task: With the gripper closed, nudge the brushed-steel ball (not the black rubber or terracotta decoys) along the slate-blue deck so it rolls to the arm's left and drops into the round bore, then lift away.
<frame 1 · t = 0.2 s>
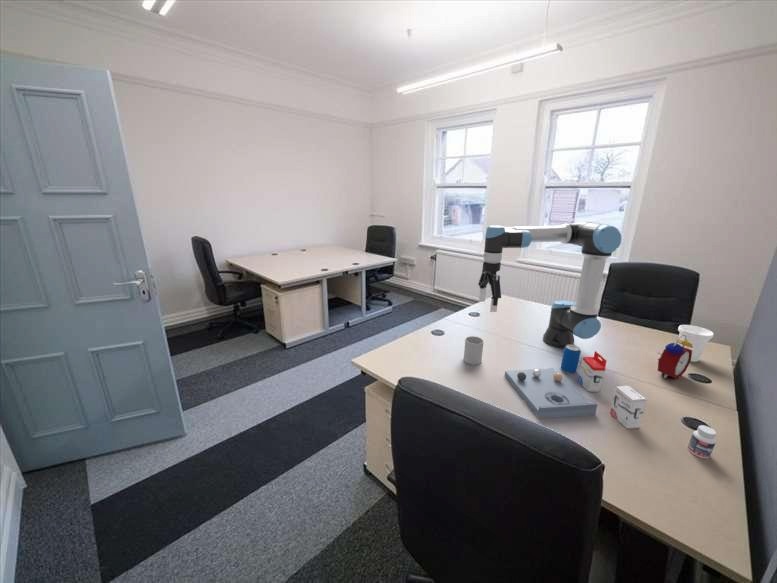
hand: (487, 306, 148), 28 cm above the table, fingers open, 13 cm apart
deck: (545, 393, 131), on the table
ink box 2: (588, 386, 136), on the table
rubber ball: (521, 376, 135), point 4 cm above the table, touching deck
alarm clock: (666, 374, 145), on the table
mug: (472, 359, 157), on the table
cup: (686, 358, 159), on the table
steel ball: (536, 373, 137), point 4 cm above the table, touching deck
beverage can: (568, 371, 147), on the table
terracotta ball: (558, 377, 135), point 4 cm above the table, touching deck
ink box: (623, 420, 116), on the table
pill bottle: (698, 452, 102), on the table
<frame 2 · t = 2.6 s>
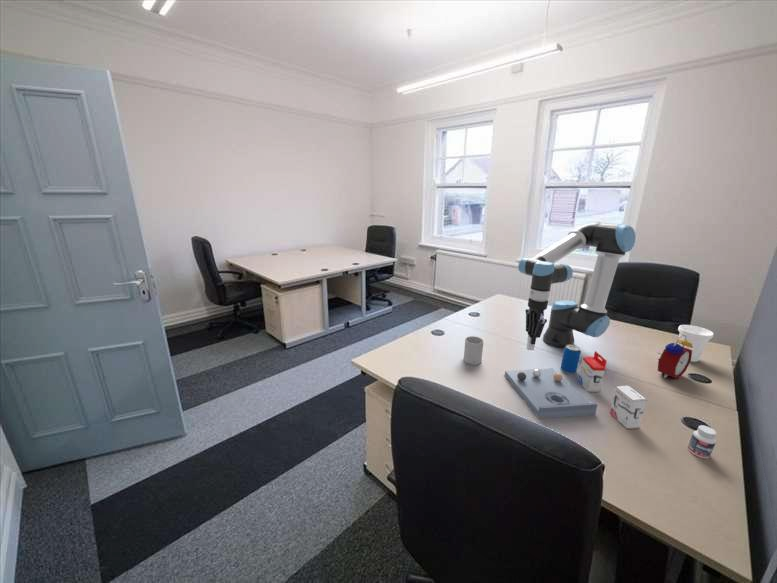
hand: (530, 349, 141), 12 cm above the table, fingers closed
nothing on the table moved.
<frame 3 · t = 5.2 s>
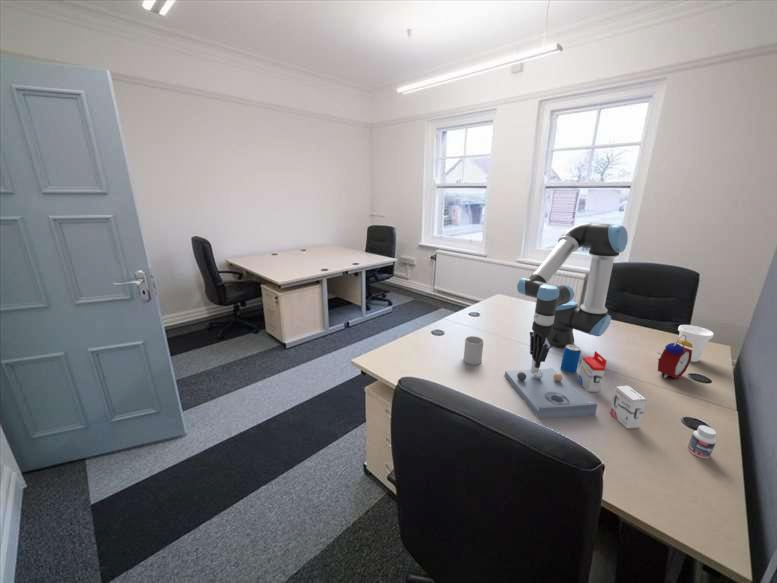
hand: (534, 372, 138), 4 cm above the table, fingers closed
steel ball: (538, 375, 136), point 4 cm above the table, tilted 39°, touching deck, gripper
everything else where it was.
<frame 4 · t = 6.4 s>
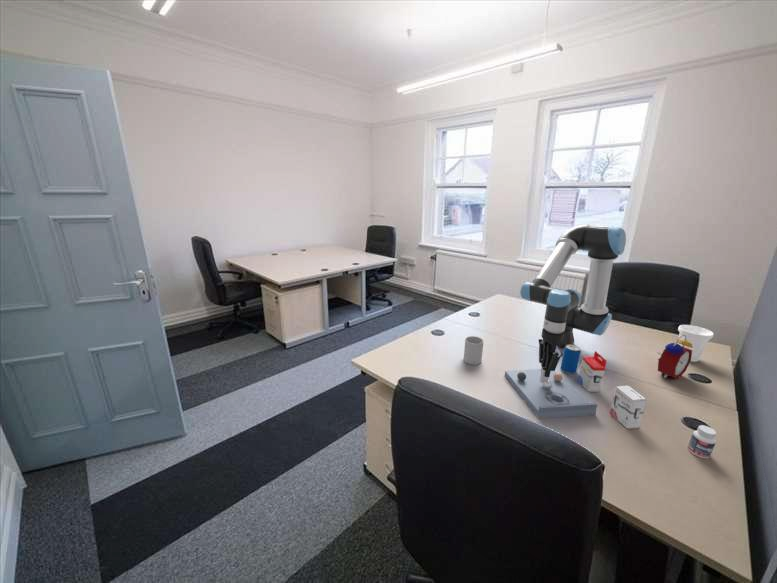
hand: (543, 382, 132), 4 cm above the table, fingers closed
steel ball: (547, 384, 129), point 4 cm above the table, tilted 118°, touching deck, gripper
everything else where it was.
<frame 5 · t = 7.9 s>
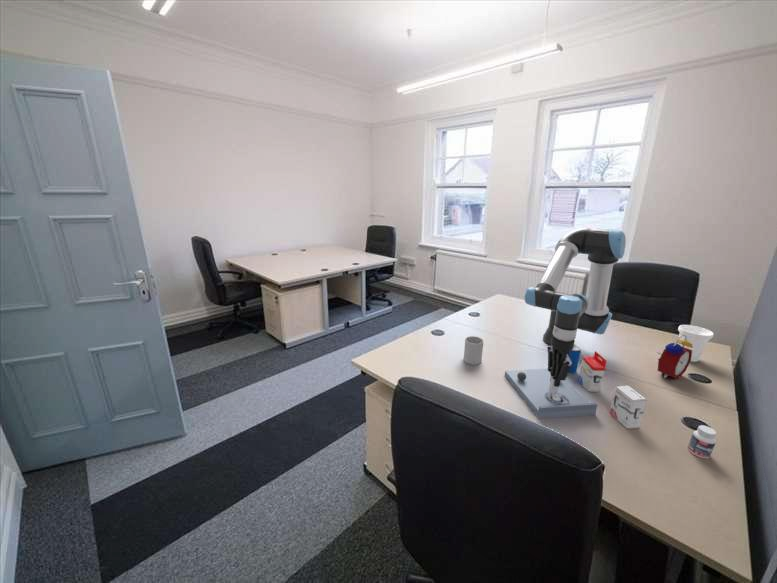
hand: (553, 391, 126), 4 cm above the table, fingers closed
steel ball: (556, 399, 124), point 2 cm above the table, tilted 104°
everything else where it was.
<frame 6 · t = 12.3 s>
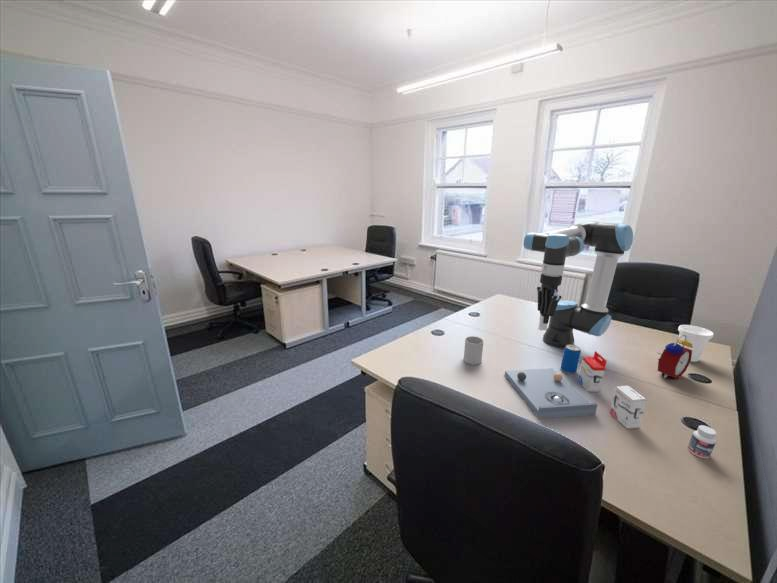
hand: (542, 329, 132), 24 cm above the table, fingers closed
steel ball: (557, 401, 123), point 2 cm above the table, tilted 127°
everything else where it was.
at the end: steel ball 0.4 cm from the target spot in the deck, point 1.7 cm above the deck's base; rubber ball moved 0.0 cm from its start; terracotta ball moved 0.0 cm from its start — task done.
